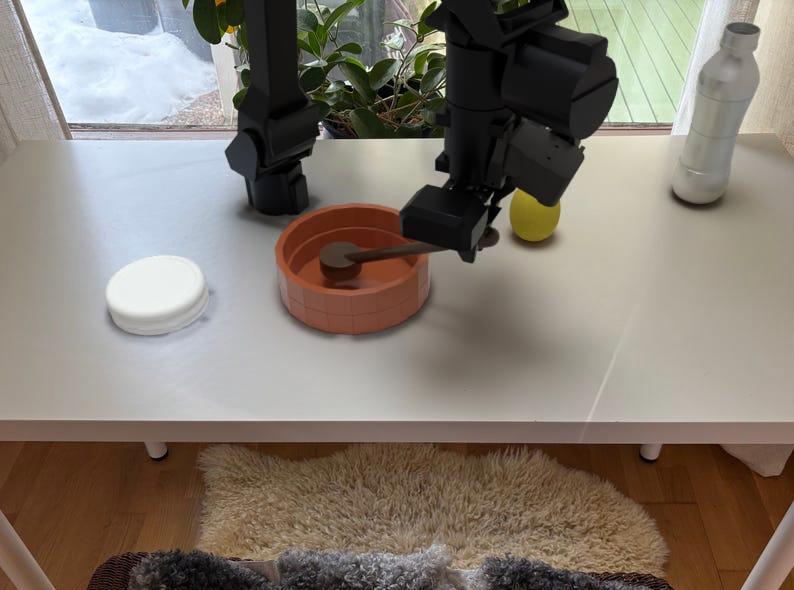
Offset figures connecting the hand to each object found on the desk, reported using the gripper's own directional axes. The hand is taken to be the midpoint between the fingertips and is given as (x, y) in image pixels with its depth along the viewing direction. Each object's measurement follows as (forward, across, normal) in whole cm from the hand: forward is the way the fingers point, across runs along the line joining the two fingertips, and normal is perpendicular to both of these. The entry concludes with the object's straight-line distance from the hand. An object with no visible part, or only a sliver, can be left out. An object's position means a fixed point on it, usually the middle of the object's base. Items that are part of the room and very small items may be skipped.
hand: (472, 255), depth 72 cm
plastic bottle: (+9, +33, -16) cm, 38 cm away
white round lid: (+9, -11, +30) cm, 33 cm away
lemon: (+9, +16, -1) cm, 19 cm away
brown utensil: (+6, 0, +7) cm, 9 cm away
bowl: (+9, 0, +13) cm, 16 cm away
